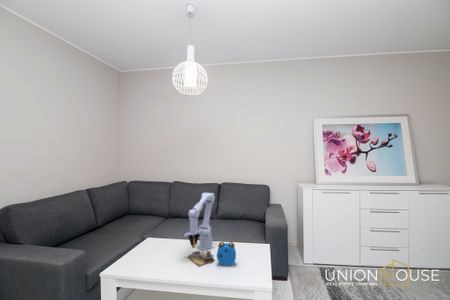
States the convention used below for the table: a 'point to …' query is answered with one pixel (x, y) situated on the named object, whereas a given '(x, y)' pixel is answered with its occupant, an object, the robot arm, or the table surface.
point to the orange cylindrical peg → (193, 243)
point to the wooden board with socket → (201, 258)
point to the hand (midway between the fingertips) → (193, 244)
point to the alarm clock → (226, 253)
